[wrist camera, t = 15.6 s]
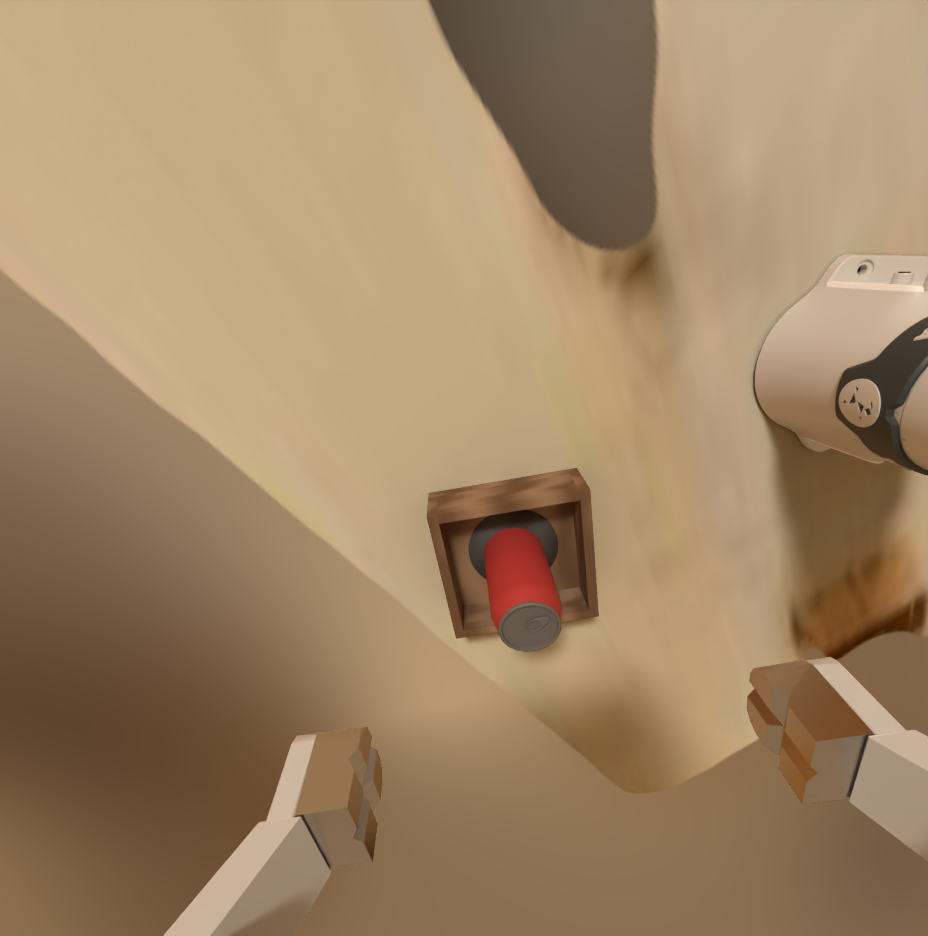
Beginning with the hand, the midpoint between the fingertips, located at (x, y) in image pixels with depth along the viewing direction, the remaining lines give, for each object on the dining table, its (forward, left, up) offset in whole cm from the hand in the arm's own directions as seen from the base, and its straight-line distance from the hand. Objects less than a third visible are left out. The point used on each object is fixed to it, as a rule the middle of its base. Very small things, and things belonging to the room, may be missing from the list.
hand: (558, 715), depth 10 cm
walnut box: (-1, +21, -37) cm, 43 cm away
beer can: (-1, +21, -36) cm, 42 cm away
